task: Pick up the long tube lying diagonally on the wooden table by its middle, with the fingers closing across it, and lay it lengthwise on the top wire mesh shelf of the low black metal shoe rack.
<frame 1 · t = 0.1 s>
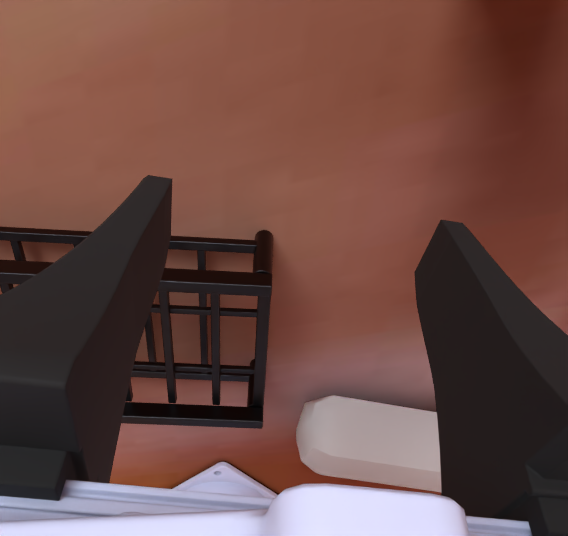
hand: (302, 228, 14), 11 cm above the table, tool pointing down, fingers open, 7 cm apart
shoe rack: (68, 296, 29), on the table
tube: (472, 426, 36), on the table
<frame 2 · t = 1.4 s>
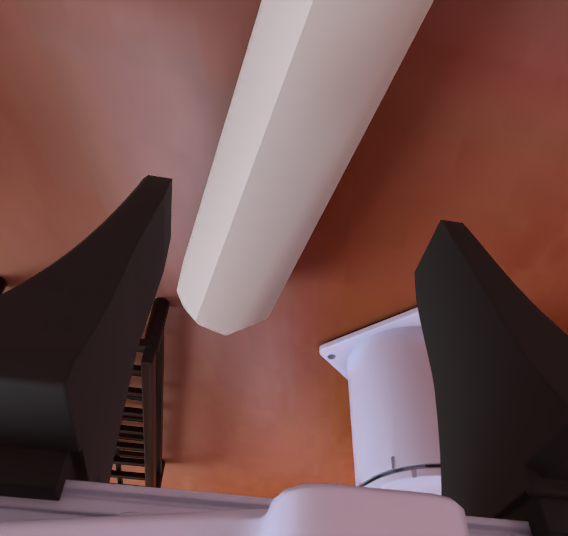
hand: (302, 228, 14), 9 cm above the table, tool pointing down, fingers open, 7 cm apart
shoe rack: (96, 390, 38), on the table
tube: (301, 72, 21), on the table
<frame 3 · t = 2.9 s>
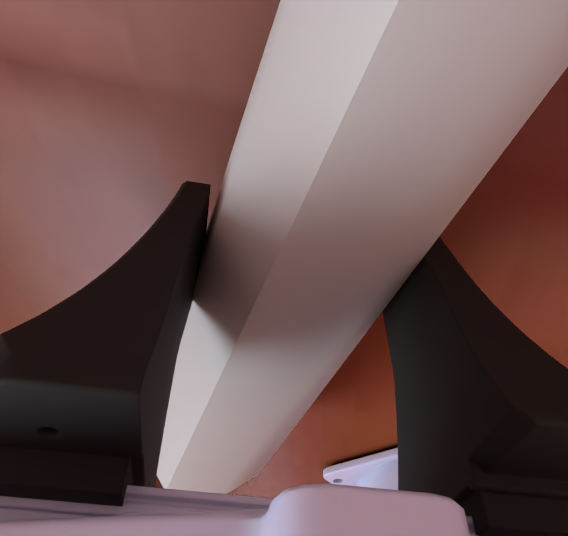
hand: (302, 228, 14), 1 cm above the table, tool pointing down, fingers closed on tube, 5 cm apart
tube: (299, 191, 15), on the table, touching gripper
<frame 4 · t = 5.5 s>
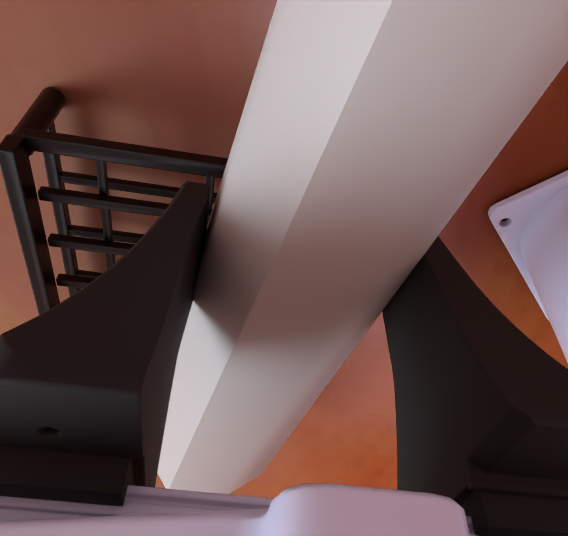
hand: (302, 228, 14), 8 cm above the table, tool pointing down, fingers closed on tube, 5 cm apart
shoe rack: (168, 290, 29), on the table
tube: (299, 189, 15), point 7 cm above the table, touching gripper
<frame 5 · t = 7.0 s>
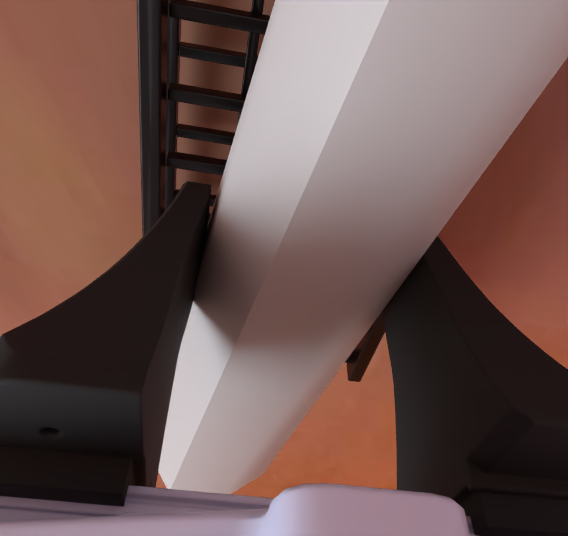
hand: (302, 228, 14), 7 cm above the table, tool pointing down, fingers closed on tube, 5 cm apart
shoe rack: (302, 99, 19), on the table
tube: (299, 189, 15), point 6 cm above the table, touching gripper
when the fingers open (5 cm above the table, at t = 8.3 s): tube stays where it is, resting on shoe rack.
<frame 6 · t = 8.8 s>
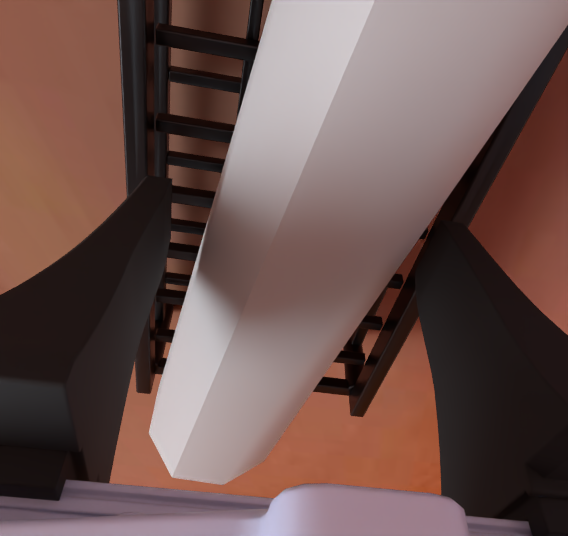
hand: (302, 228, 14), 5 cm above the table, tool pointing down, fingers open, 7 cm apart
shoe rack: (301, 124, 18), on the table
tube: (299, 178, 16), point 3 cm above the table, touching shoe rack
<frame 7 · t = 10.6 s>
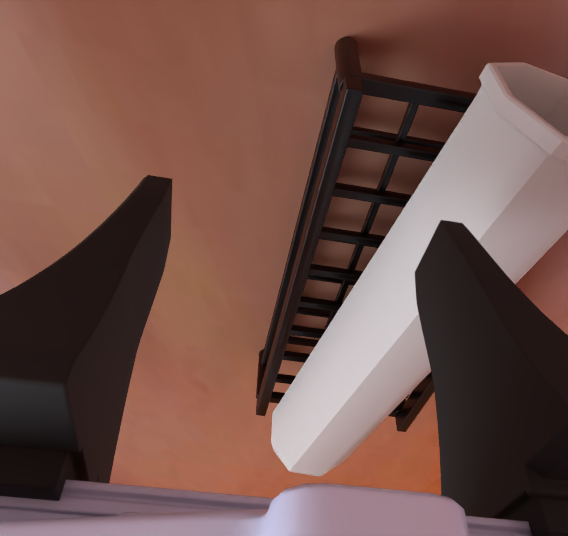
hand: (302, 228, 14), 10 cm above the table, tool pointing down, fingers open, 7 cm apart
shoe rack: (376, 252, 29), on the table
tube: (382, 295, 27), point 3 cm above the table, touching shoe rack
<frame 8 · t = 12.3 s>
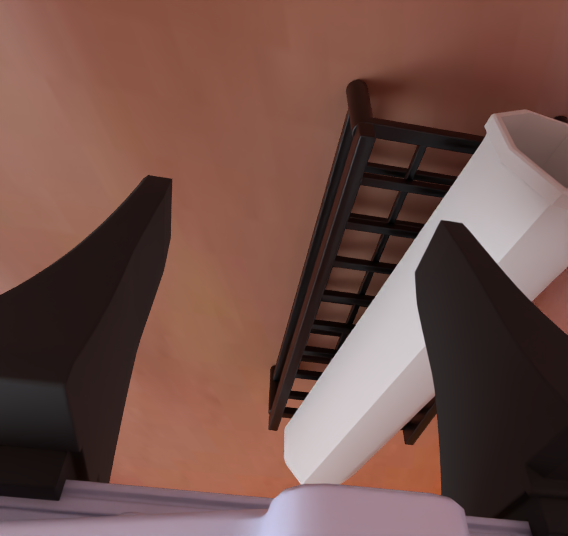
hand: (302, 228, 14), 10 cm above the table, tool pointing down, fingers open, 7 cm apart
shoe rack: (384, 274, 30), on the table
tube: (390, 318, 28), point 3 cm above the table, touching shoe rack
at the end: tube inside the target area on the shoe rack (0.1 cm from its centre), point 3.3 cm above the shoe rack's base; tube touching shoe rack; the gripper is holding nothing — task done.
